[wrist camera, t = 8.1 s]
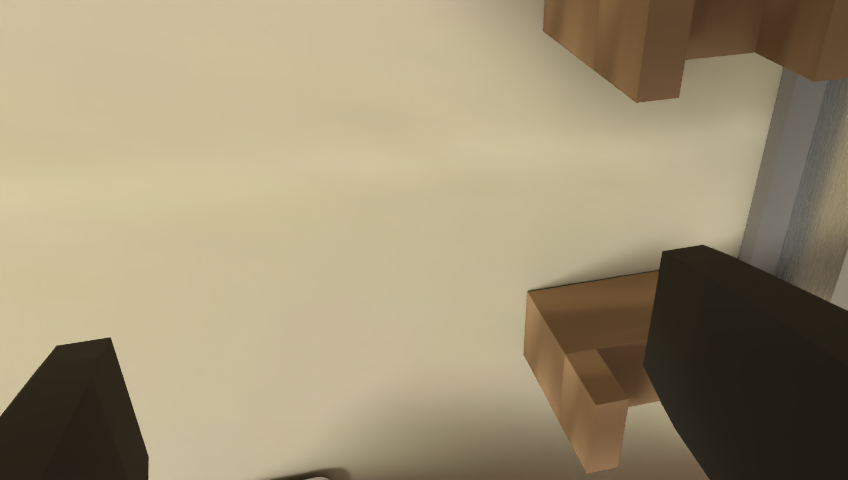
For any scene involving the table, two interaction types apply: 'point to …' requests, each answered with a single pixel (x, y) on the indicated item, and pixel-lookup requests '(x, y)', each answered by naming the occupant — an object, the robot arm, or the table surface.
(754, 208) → the gray bar
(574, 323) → the cradle posts
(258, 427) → the table surface
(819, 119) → the rail
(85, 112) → the table surface
